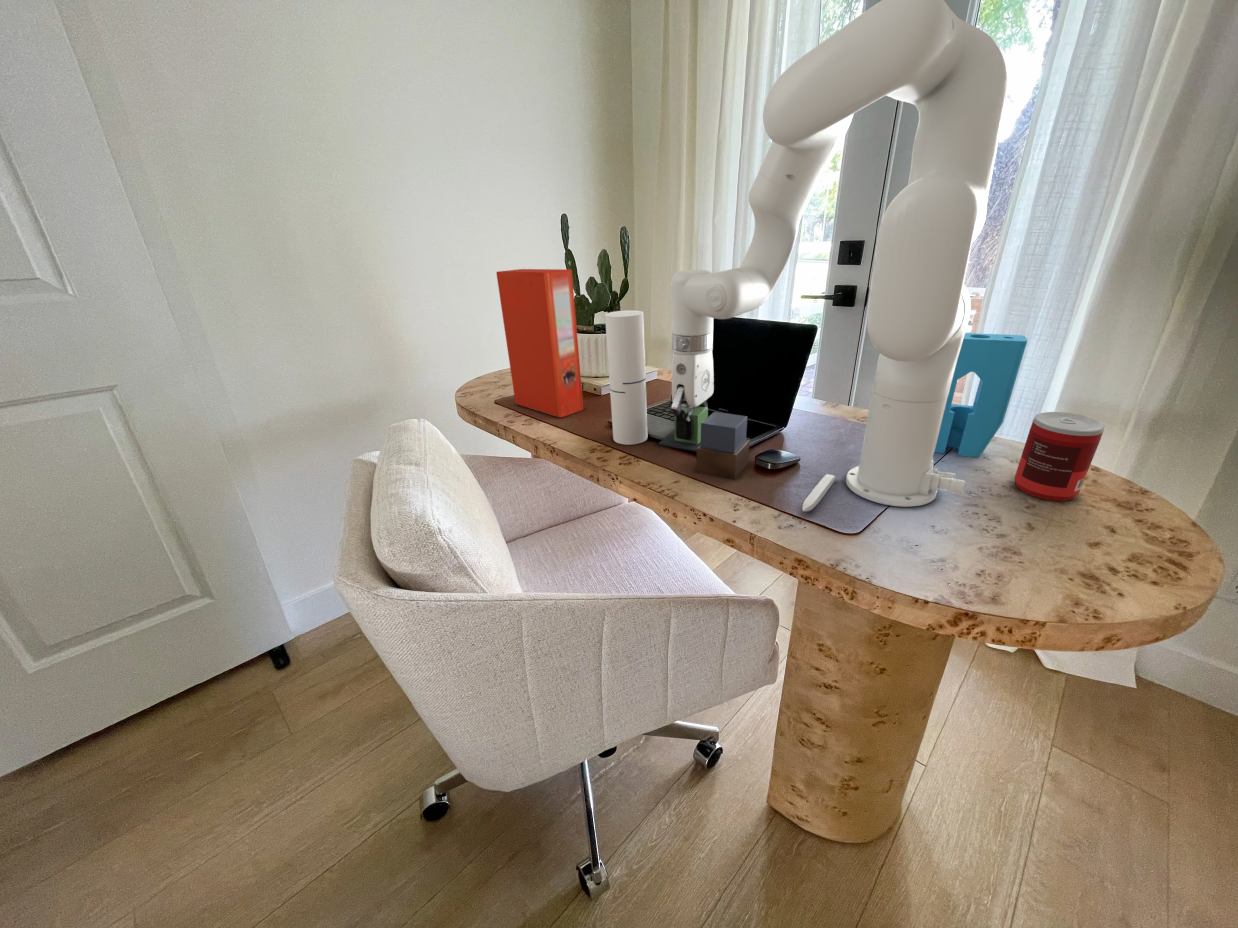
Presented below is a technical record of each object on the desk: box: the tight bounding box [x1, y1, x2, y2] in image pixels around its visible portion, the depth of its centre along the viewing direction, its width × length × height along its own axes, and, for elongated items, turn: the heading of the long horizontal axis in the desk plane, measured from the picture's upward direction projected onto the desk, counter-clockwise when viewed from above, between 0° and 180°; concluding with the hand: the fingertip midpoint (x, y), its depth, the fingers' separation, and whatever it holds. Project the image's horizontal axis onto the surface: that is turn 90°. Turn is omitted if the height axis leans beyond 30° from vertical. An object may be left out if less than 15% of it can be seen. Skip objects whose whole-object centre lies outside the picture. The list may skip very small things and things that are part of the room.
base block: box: [696, 438, 751, 480], centre depth 86 cm, size 7×7×4 cm
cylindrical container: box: [604, 309, 649, 446], centre depth 96 cm, size 7×7×25 cm
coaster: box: [657, 430, 701, 453], centre depth 99 cm, size 10×10×1 cm
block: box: [934, 332, 1029, 458], centre depth 84 cm, size 12×5×20 cm, turn 59°
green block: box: [673, 406, 709, 444], centre depth 97 cm, size 5×5×6 cm
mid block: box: [701, 411, 748, 453], centre depth 84 cm, size 6×6×4 cm
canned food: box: [1014, 411, 1105, 502], centre depth 72 cm, size 8×8×11 cm
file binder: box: [496, 268, 584, 419], centre depth 116 cm, size 8×17×32 cm, turn 47°
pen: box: [801, 473, 836, 513], centre depth 75 cm, size 2×14×2 cm, turn 142°
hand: (691, 431), depth 98 cm, fingers open, 6 cm apart
